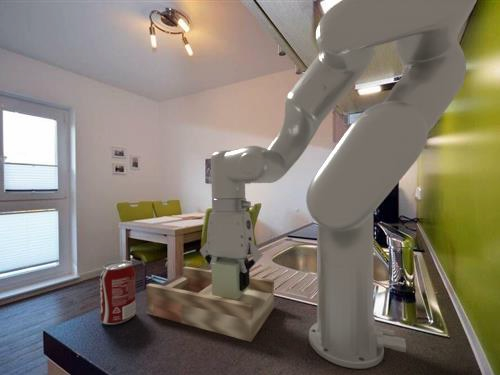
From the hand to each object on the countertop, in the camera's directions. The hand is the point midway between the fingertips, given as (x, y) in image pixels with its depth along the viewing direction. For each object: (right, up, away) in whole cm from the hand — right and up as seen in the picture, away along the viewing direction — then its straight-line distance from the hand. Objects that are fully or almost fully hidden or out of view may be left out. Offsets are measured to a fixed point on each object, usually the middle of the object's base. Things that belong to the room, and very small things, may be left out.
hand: (230, 285), depth 55 cm
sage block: (0, -1, 0) cm, 1 cm away
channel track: (-5, -7, +2) cm, 8 cm away
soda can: (-25, -7, -1) cm, 26 cm away
